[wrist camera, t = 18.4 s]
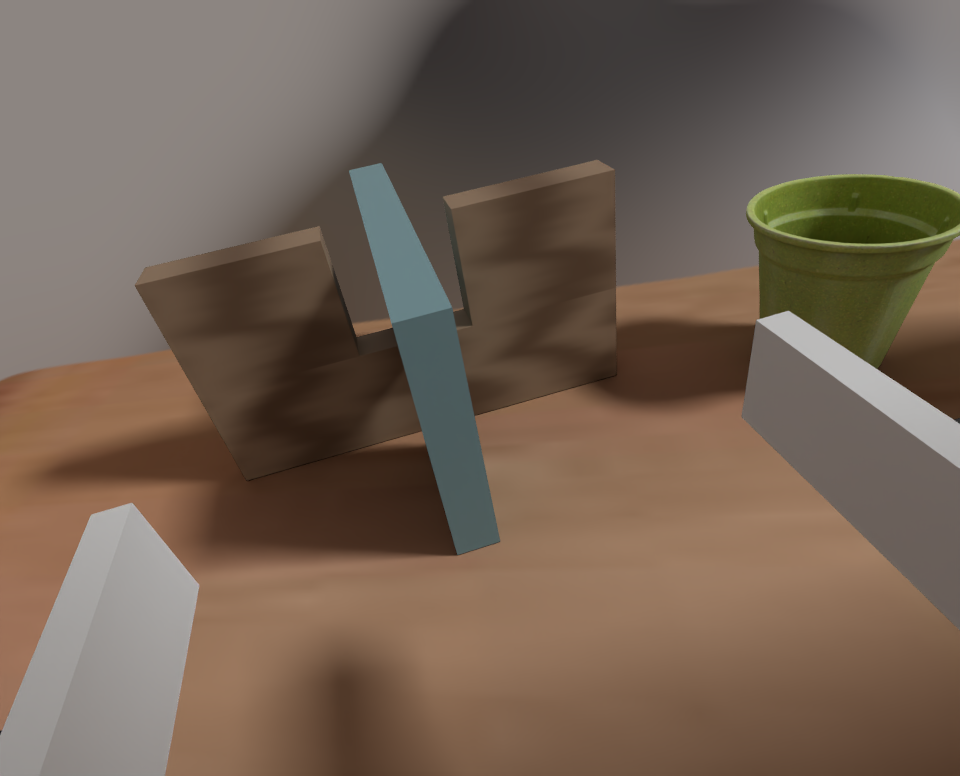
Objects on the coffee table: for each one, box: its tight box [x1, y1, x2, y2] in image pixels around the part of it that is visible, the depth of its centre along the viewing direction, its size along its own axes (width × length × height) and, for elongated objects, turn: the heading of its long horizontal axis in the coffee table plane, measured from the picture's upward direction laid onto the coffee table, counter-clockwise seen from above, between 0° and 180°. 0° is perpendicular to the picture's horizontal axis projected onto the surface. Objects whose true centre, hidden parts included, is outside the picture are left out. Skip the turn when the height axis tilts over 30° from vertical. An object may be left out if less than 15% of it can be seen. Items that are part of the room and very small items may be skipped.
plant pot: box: [746, 174, 960, 369], centre depth 30 cm, size 9×9×9 cm
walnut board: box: [135, 160, 617, 481], centre depth 30 cm, size 22×2×12 cm, turn 105°
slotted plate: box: [349, 163, 500, 555], centre depth 30 cm, size 2×20×12 cm, turn 15°
